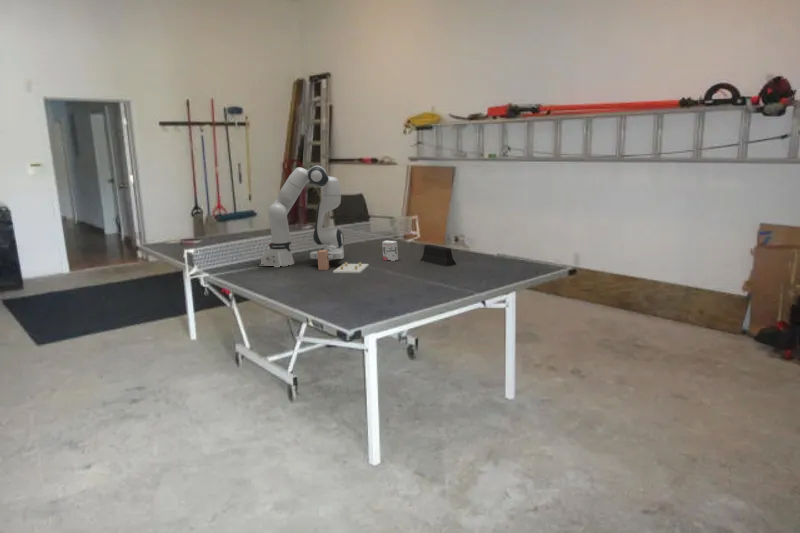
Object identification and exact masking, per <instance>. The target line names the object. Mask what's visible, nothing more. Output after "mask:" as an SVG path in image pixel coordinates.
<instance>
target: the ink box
mask: <svg viewBox="0 0 800 533" xmlns="http://www.w3.org/2000/svg"><path fill="white" fill-rule="evenodd" d="M381 244H382V248H381V249H382V260H383V261H387V260H391V261H390V262H396V261H398V260H399V252H398V247H399V246H398V241H396V240H383V241H381ZM395 260H396V261H395Z"/></svg>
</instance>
